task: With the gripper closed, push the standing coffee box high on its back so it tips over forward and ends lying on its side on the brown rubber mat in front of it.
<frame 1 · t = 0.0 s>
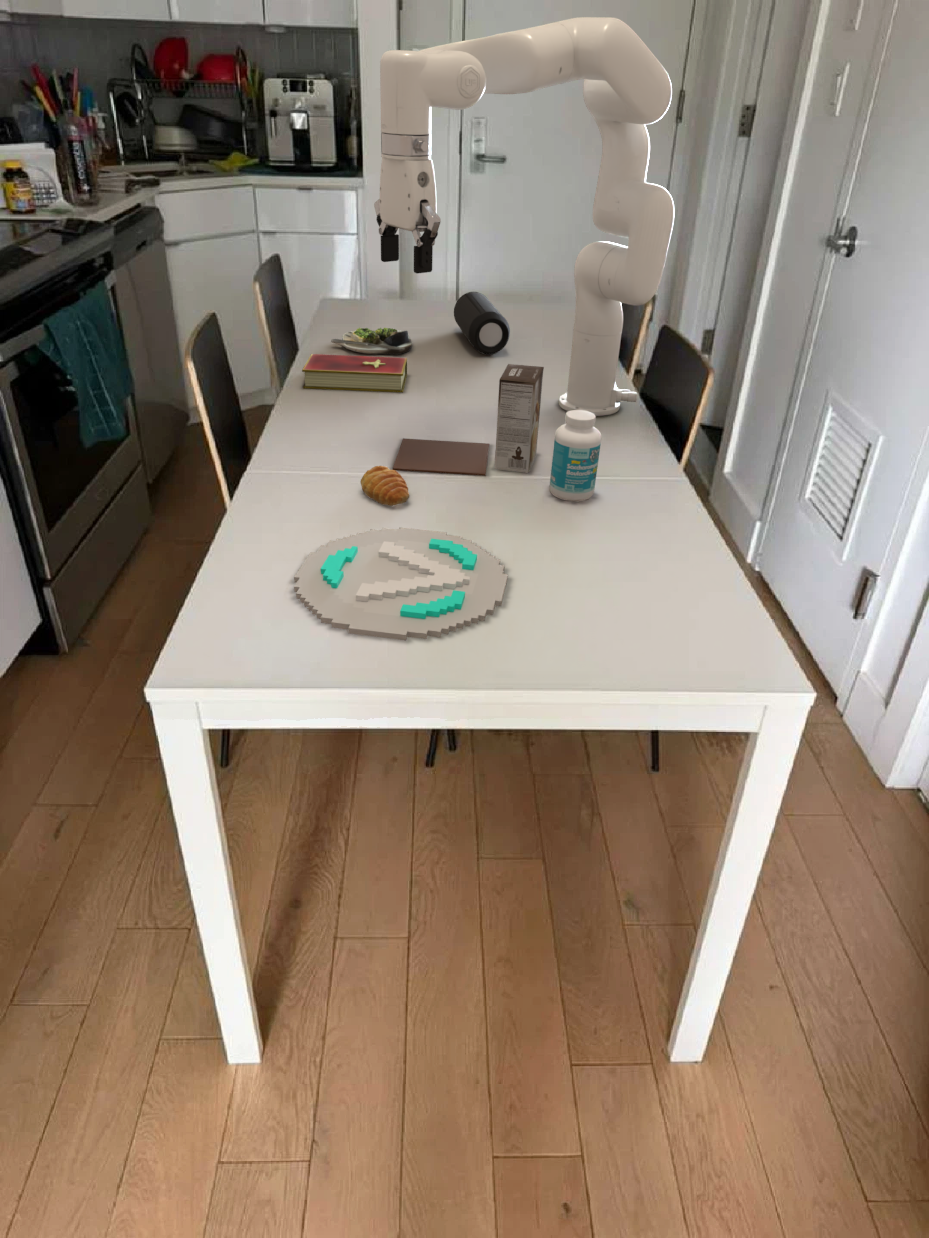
hand: (406, 266, 143), 31 cm above the table, tool pointing down, fingers open, 9 cm apart
pastry: (386, 496, 143), on the table
portable speaker: (479, 343, 220), on the table
salad plate: (379, 347, 214), on the table
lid: (402, 582, 120), on the table
coffee box: (515, 463, 156), on the table
mat: (442, 457, 157), on the table
hardcover book: (356, 382, 191), on the table
pill bottle: (571, 494, 146), on the table
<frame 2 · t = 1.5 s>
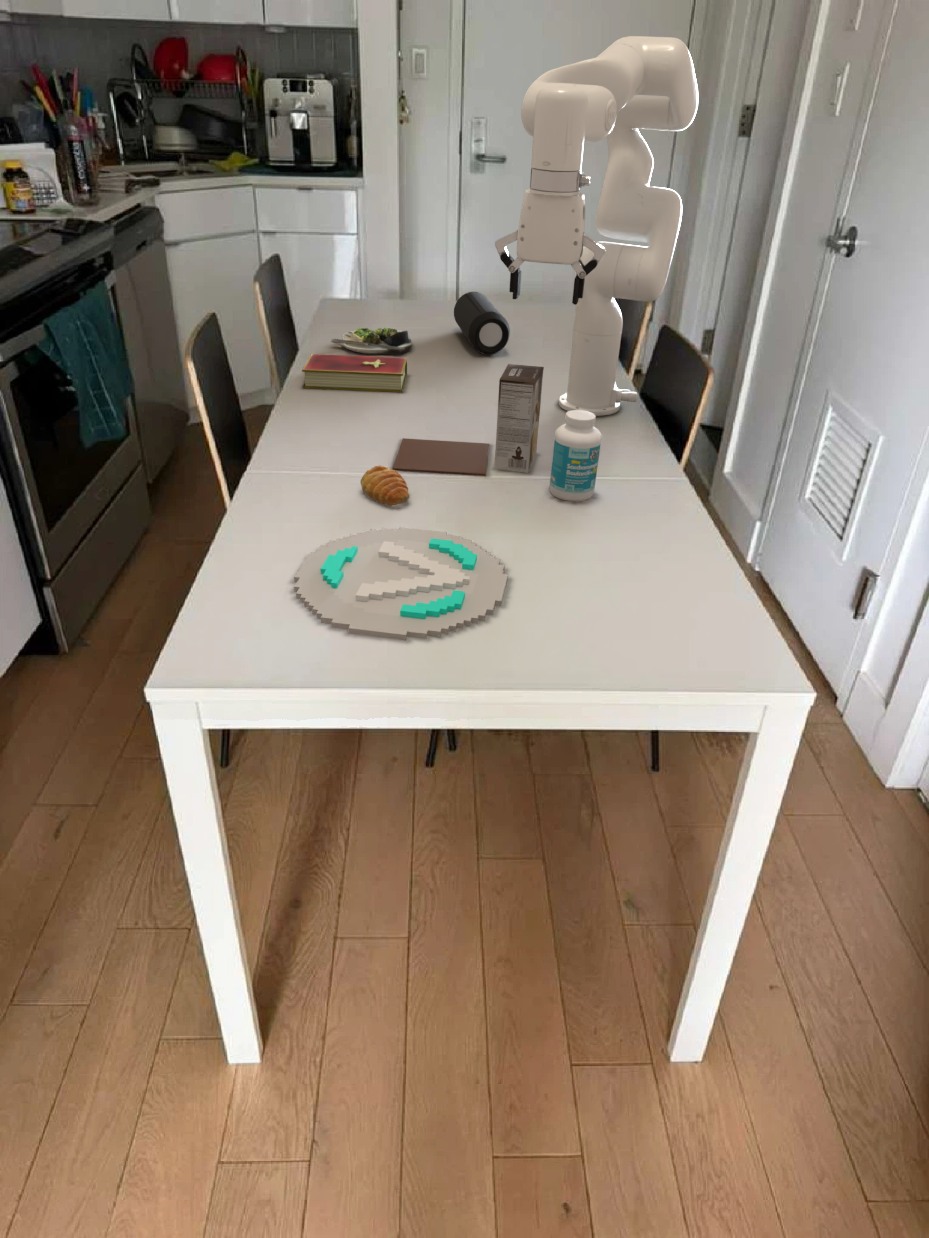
hand: (545, 300, 142), 28 cm above the table, tool pointing down, fingers open, 9 cm apart
nothing on the table moved.
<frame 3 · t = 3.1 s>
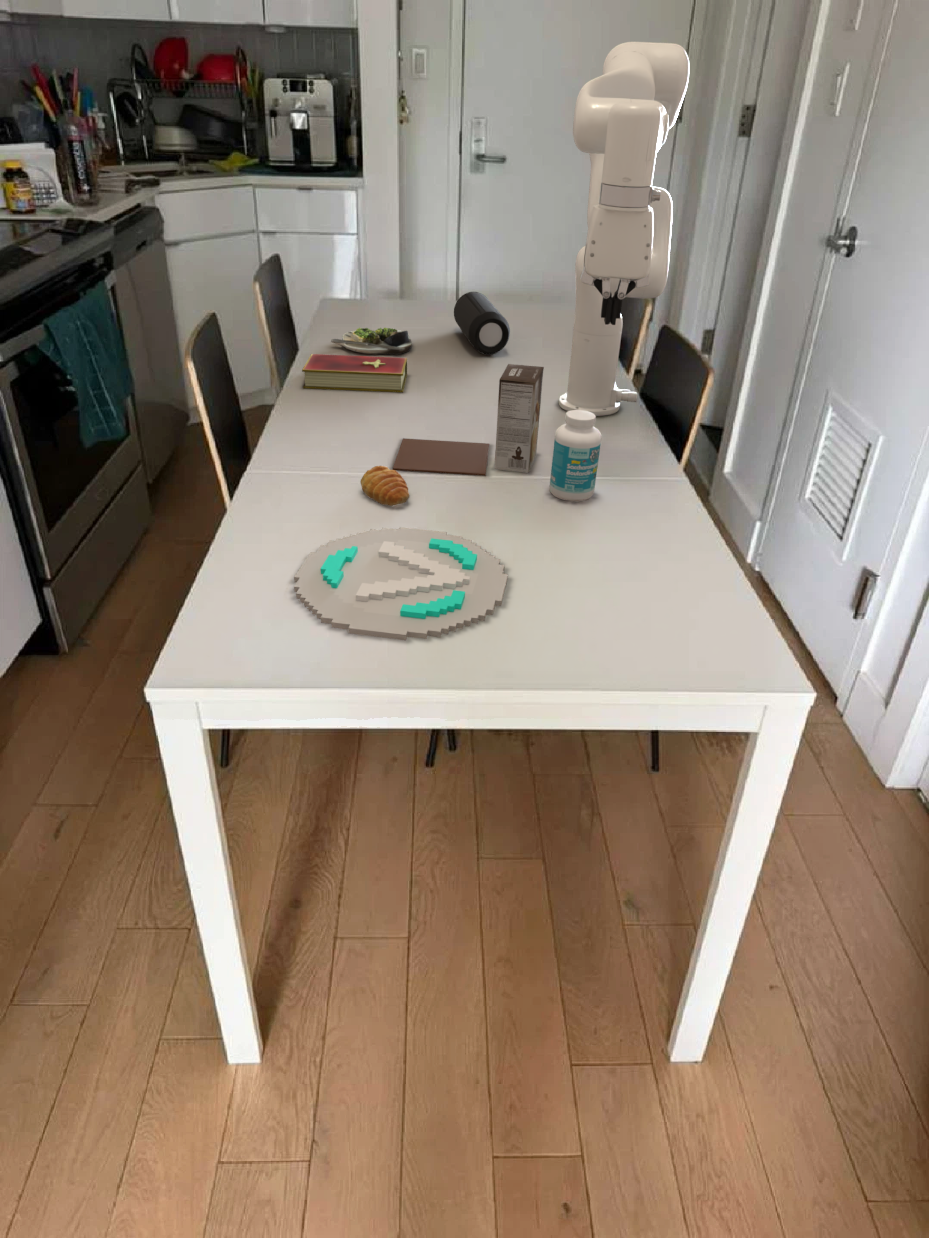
hand: (609, 322, 142), 25 cm above the table, tool pointing down, fingers closed
nothing on the table moved.
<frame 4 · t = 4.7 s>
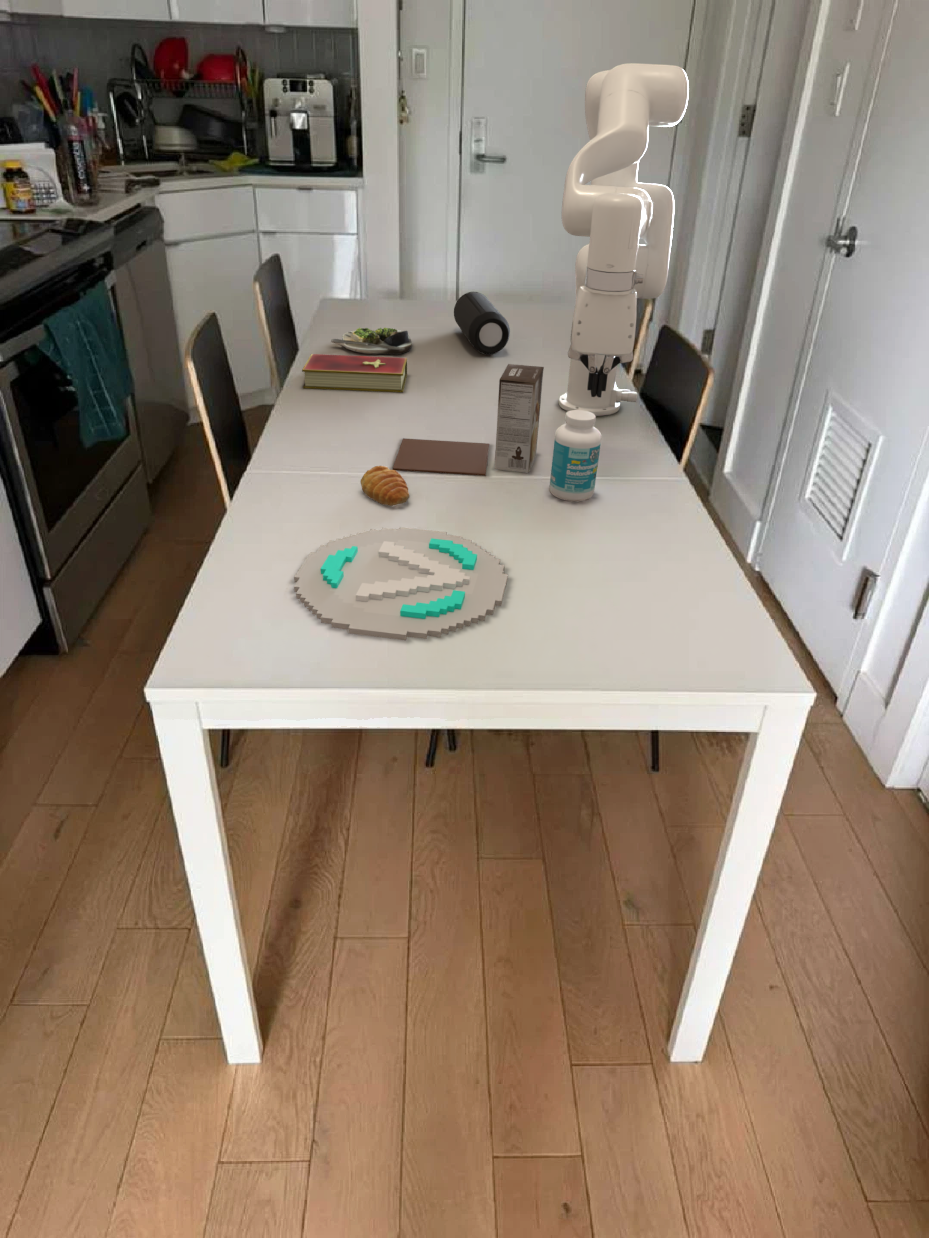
hand: (595, 394, 149), 13 cm above the table, tool pointing down, fingers closed
nothing on the table moved.
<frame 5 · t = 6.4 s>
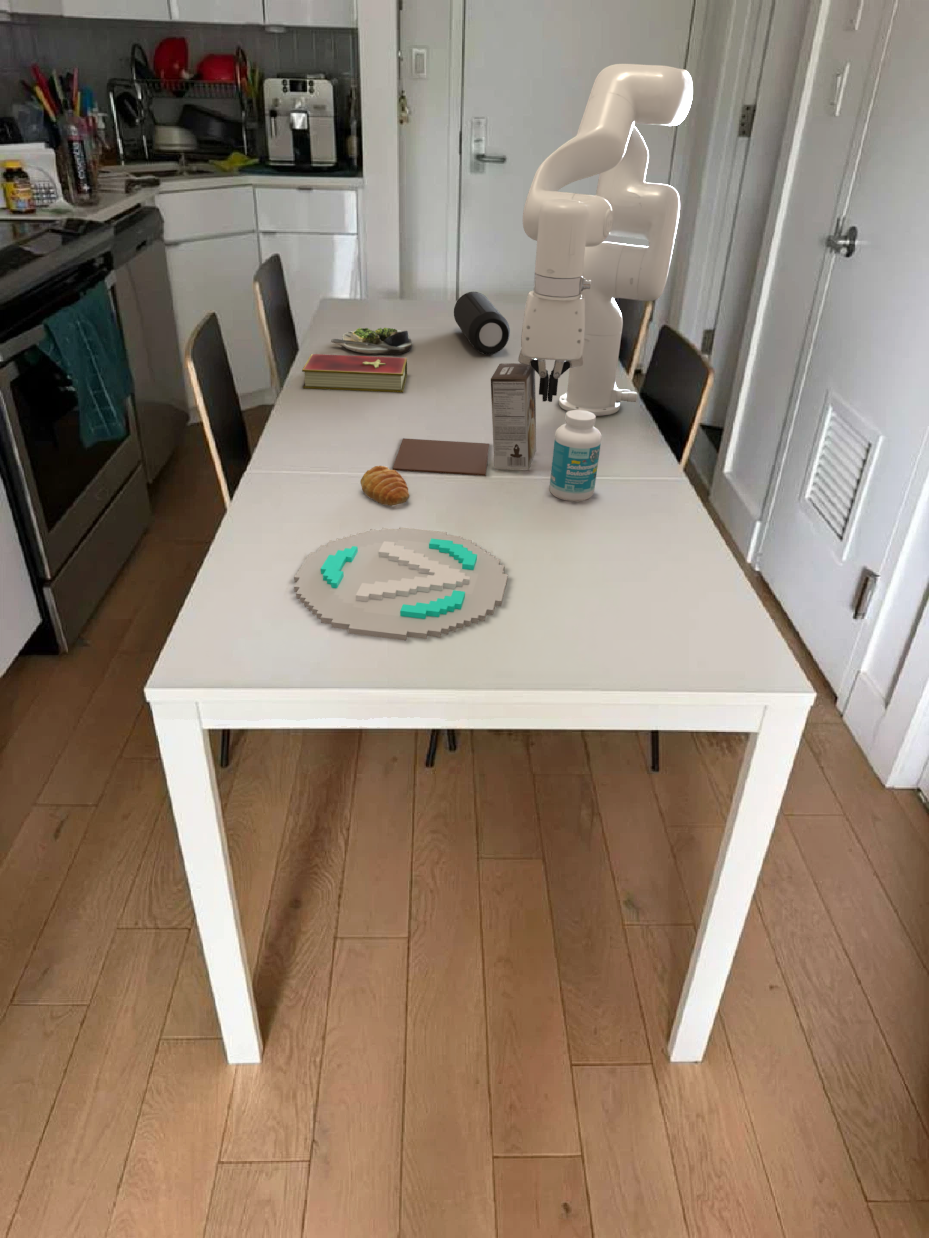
hand: (547, 399, 150), 12 cm above the table, tool pointing down, fingers closed
coffee box: (515, 461, 156), on the table, touching gripper
everything else where it was.
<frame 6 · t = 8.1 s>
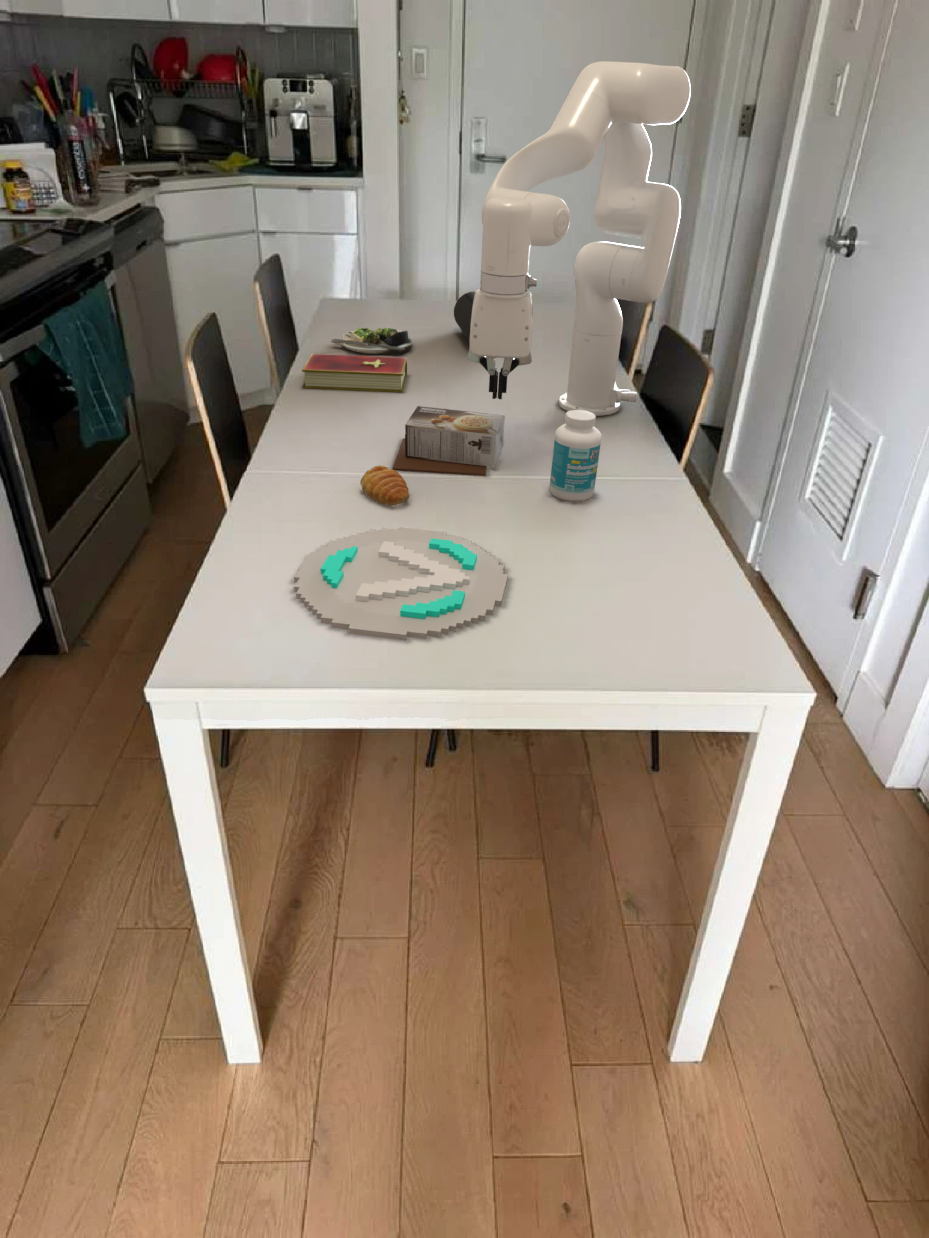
hand: (497, 396, 150), 12 cm above the table, tool pointing down, fingers closed
coffee box: (500, 441, 155), point 4 cm above the table, touching mat
everything else where it was.
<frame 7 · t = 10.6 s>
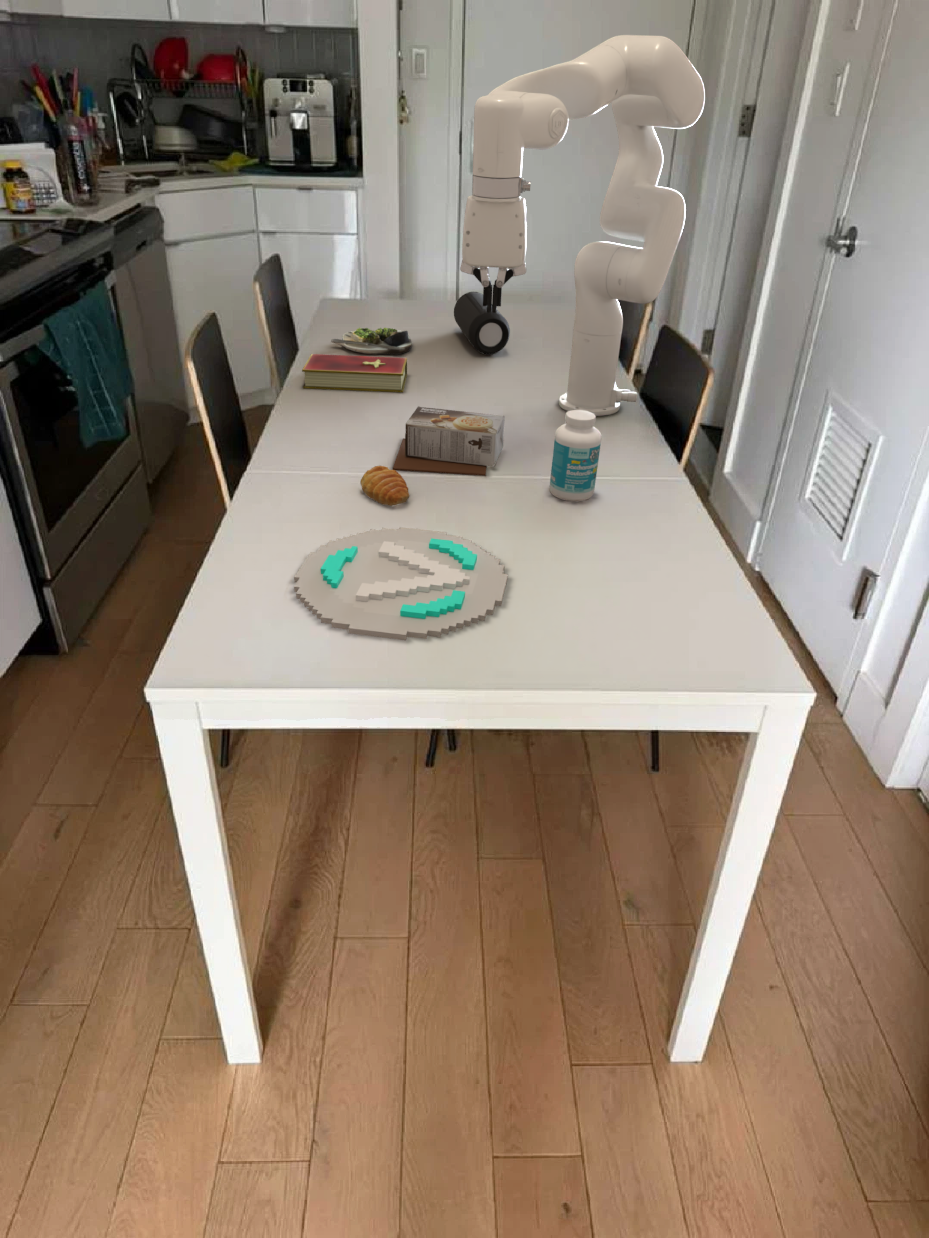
hand: (491, 310, 146), 25 cm above the table, tool pointing down, fingers closed
nothing on the table moved.
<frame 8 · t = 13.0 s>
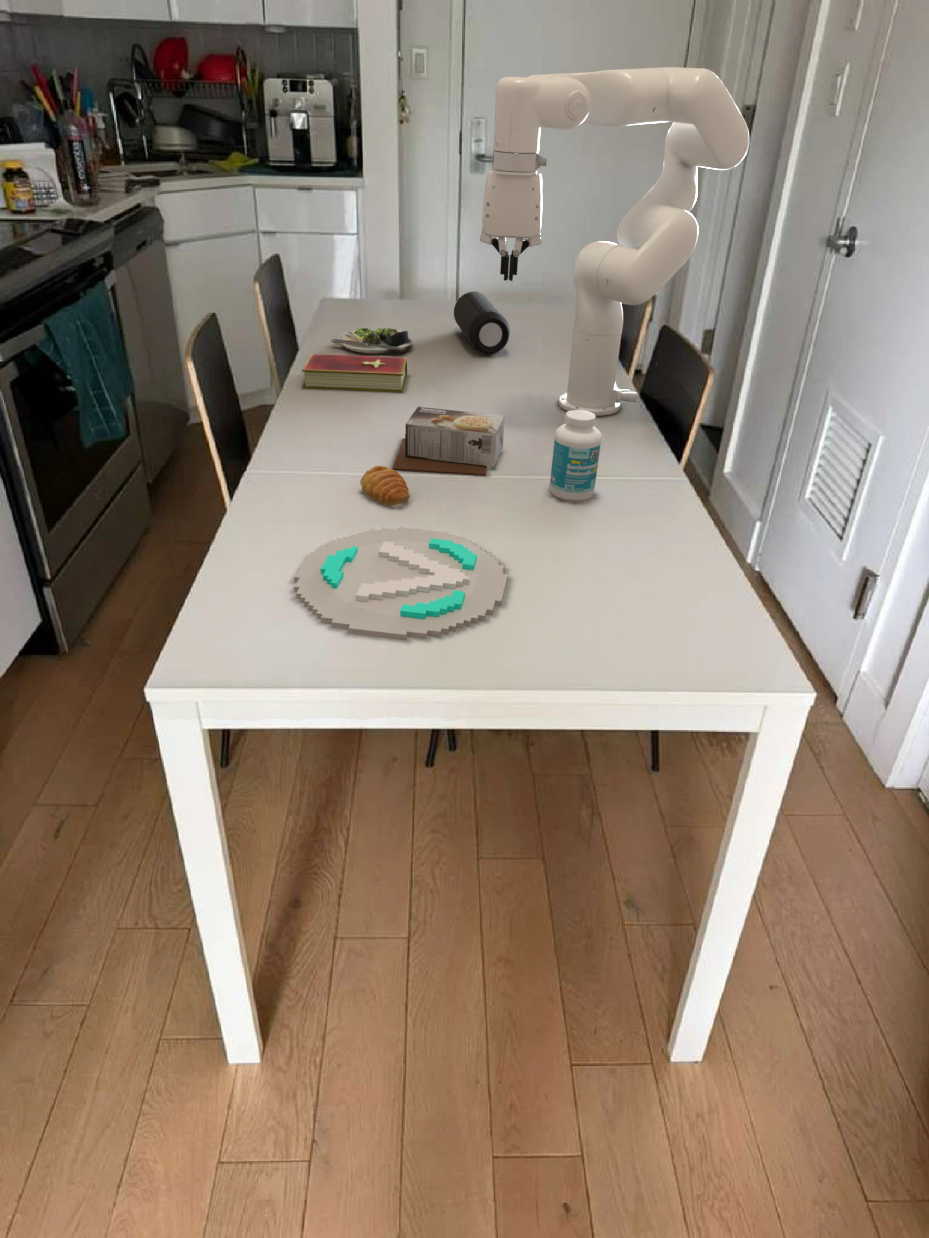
hand: (508, 279, 157), 27 cm above the table, tool pointing down, fingers closed
nothing on the table moved.
at the end: coffee box tilted 90°; coffee box touching mat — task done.
